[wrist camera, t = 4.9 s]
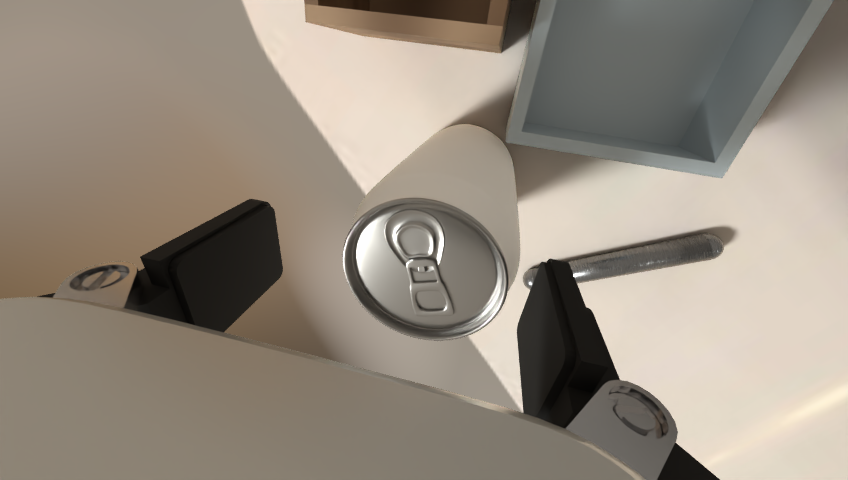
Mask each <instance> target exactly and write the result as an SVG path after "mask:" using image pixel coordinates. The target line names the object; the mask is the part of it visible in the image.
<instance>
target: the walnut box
mask: <svg viewBox="0 0 848 480" xmlns="http://www.w3.org/2000/svg"><path fill="white" fill-rule="evenodd" d="M304 2H305V17H306V22H308V23H312V24H316V25H320V26H325V27H329V28H333V29H337V30H341V31H345V32H349V33H353V34H357V35H361V36H368V37H376V38H384V39H391V40H399V41H407V42H415V43H423V44H431V45H439V46H447V47H455V48H463V49H471V50H479V51H487V52H495V53H501V51H502V46H503V41H504V37H505V32H506V27H507V22H508V17H509V12H510V8H511V3H512V0H304Z"/></svg>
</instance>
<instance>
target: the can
mask: <svg viewBox="0 0 848 480" xmlns="http://www.w3.org/2000/svg"><path fill="white" fill-rule="evenodd" d="M519 260H520V233H519V219H518V206H517V194H516V183H515V173H514V166H513V162H512V158H511V156H510V153H509V151H508V149H507V148H506V146H505V145H504V143H503V142H502V141H501V140H500V139H499V138H498V137H497V136H496V135H494V134H493V133H492V132H490V131H488V130H486V129H484V128H482V127H479V126H475V125H471V124H459V125H454V126H451V127H448V128H445V129H443V130H441V131H439V132H437V133H436V134H434V135H433V136H431V137H430V138H429V139H428V140H426V141H425V142H424V143H423V144H422V145H420V146H419V147H418V148H417V149H416V150H415V151H414V152H412V153H411V154H410V155H409V156H408V157H407V158H406V159H404V160H403V161H402V162H401V163H400V164H399V165H398V166H396V167H395V168H394V169H393V170H392V171H391V172H390V173H389V174H387V175H386V176H385V177H384V178H383V179H382V180H381V181H380V182H379V183H378V184H377V185H376V186H375V187H374V188H373V189H372V190H371V191H370V192H369V193H368V194H367V195H366V197H365V198H364V199H363V201H362V202H361V204H360V206H359V207H358V209H357V211H356V214H355V216H354V219H353V224H352V228H351V229H350V231H349V233H348V235H347V238H346V240H345V244H344V249H343V268H344V273H345V277H346V280H347V283H348V285H349V287H350V289H351V291H352V293H353V294H354V296H355V298H356V299H357V300H358V302H359V303H360V304H361V305H362V307H363V308H364V309H365V310H366V311H367V312H368V313H369V314H370V315H372V316H373V317H374V318H375V319H376V320H378V321H379V322H381V323H382V324H384V325H385V326H387V327H389V328H391V329H393V330H395V331H397V332H399V333H402V334H404V335H407V336H410V337H414V338H418V339H424V340H434V341H443V340H453V339H458V338H462V337H465V336H468V335H471V334H473V333H475V332H477V331H479V330H481V329H482V328H484V327H485V326H486V325H488V324H489V323H490V322H491V321H492V320H493V319H494V318H495V317H496V316H497V314H498V313H499V311H500V310H501V308H502V306H503V304H504V302H505V299H506V296H507V292H508V290H509V289H510V287H511V285H512V284H513V282H514V279H515V277H516V274H517V271H518V267H519Z"/></svg>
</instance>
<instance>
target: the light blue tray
mask: <svg viewBox="0 0 848 480" xmlns="http://www.w3.org/2000/svg"><path fill="white" fill-rule="evenodd" d="M833 1H834V0H537V1H536V5H535V10H534V14H533V18H532V22H531V26H530V30H529V35H528V39H527V43H526V47H525V51H524V56H523V60H522V64H521V68H520V72H519V76H518V81H517V85H516V89H515V93H514V97H513V101H512V106H511V110H510V114H509V118H508V122H507V127H506V143H512V144H518V145H524V146H530V147H536V148H542V149H548V150H554V151H560V152H566V153H572V154H578V155H584V156H590V157H596V158H602V159H608V160H614V161H620V162H626V163H632V164H638V165H644V166H650V167H656V168H662V169H668V170H674V171H680V172H686V173H692V174H698V175H704V176H710V177H716V178H723V176H724V174H725V173H726V171H727V170H728V168H729V167H730V165H731V163H732V162H733V160H734V159H735V157H736V155H737V154H738V152H739V151H740V149H741V147H742V146H743V144H744V143H745V141H746V139H747V138H748V136H749V135H750V133H751V132H752V130H753V128H754V127H755V125H756V124H757V122H758V120H759V119H760V117H761V116H762V114H763V112H764V111H765V109H766V108H767V106H768V104H769V103H770V101H771V100H772V98H773V97H774V95H775V93H776V92H777V90H778V89H779V87H780V85H781V84H782V82H783V81H784V79H785V77H786V76H787V74H788V73H789V71H790V69H791V68H792V66H793V65H794V63H795V62H796V60H797V58H798V57H799V55H800V54H801V52H802V50H803V49H804V47H805V46H806V44H807V42H808V41H809V39H810V38H811V36H812V34H813V33H814V31H815V30H816V28H817V27H818V25H819V23H820V22H821V20H822V19H823V17H824V15H825V14H826V12H827V11H828V9H829V7H830V6H831V4H832V3H833Z"/></svg>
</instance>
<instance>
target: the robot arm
mask: <svg viewBox="0 0 848 480" xmlns="http://www.w3.org/2000/svg"><path fill="white" fill-rule="evenodd" d="M140 258H141V260H142V262H143V265H144V267H145V268H144V269H143V270H141V271H138V269H137V267H136V266H135V265H134V264H133V263H129V262H123V261H115V262H106V263H101V264H97V265H94V266H90V267H87V268H85V269H82V270H80V271H77V272H75V273H74V274H72V275H71V276H69V277H68V278H66V279H65V280H64V281H63V282H62V284H61V285H60V287H59V288H58V290H57V291H56V293H53V294H48V295H43V296H38V297H23V298H5V299H0V480H720V479H718V478H717V477H716V476H715V475H714V474H712V473H711V472H710V471H709V470H708V469H706V468H705V467H704V466H703V465H702V464H700V463H699V462H698V461H697V460H696V459H694V458H693V457H692V456H691V455H690V454H689V453H687V452H686V451H685V450H684V449H683V448H681V447H680V446H679V445H678V444H677V443H675V442H676V439H677V433H678V431H677V428H676V424H675V421H674V419H673V418H672V416H671V414H670V413H669V411H668V410H667V409H666V408H665V407H664V405H663V404H662V403H661V402H660V401H659V400H658V399H657V398H655V397H654V396H653V395H652V394H651V393H649V392H648V391H646V390H644V389H643V388H641V387H639V386H638V385H635V384H633V383H630V382H628V381H622V380H620V379H619V377H618V374H617V372H616V369H615V367H614V364H613V362H612V359H611V357H610V354H609V352H608V349H607V347H606V344H605V342H604V339H603V337H602V334H601V332H600V329H599V327H598V324H597V322H596V319H595V317H594V314H593V312H592V311H591V310H590V309H589V308H586V306H585V304H584V301H583V298H582V296H581V293H580V290H579V288H578V285H577V283H576V280H575V277H574V275H573V272H572V269H571V267H570V264H569V263H568V262H564V261H559V260H554V259H549V260H548V261H547V263H546V262H541V264H540V266H539V269H538V271H537V274H536V277H535V279H534V282H533V285H532V287H531V290H530V293H529V296H528V298H527V301H526V304H525V306H524V309H523V312H522V314H521V317H520V320H519V323H518V327H517V339H518V351H519V363H520V375H521V387H522V399H523V411H524V413H521V412H518V411H515V410H512V409H509V408H505V407H502V406H499V405H495V404H491V403H488V402H484V401H481V400H477V399H474V398H470V397H467V396H463V395H460V394H456V393H453V392H449V391H445V390H442V389H438V388H434V387H430V386H427V385H423V384H419V383H415V382H412V381H408V380H404V379H400V378H396V377H393V376H389V375H385V374H381V373H378V372H374V371H370V370H366V369H362V368H359V367H355V366H351V365H347V364H344V363H340V362H335V361H331V360H328V359H324V358H321V357H316V356H313V355H309V354H305V353H301V352H297V351H294V350H290V349H286V348H282V347H278V346H274V345H270V344H266V343H263V342H259V341H255V340H251V339H247V338H243V337H239V336H235V335H231V334H227V333H223V332H224V331H225V330H226V329H227V328H228V327H229V326H231V325H232V324H233V323H234V322H235V321H236V320H237V319H238V318H239V317H240V316H241V315H242V314H243V313H244V312H245V311H246V310H247V309H248V308H249V307H250V306H251V305H252V304H253V303H254V302H255V301H256V300H257V299H258V298H260V297H261V295H263V294H264V293H265V292H266V291H267V290H268V289H269V288H270V287H271V286H272V285H273V284H274V283H275V282H276V281H277V280H278V279H279V278H280V277H281V274H282V271H283V266H282V260H281V253H280V246H279V239H278V232H277V225H276V218H275V211H274V209H273V208H272V207H271V206H270V204H269V203H268V202H264V201H260V200H254V199H249V200H247V201H245V202H243V203H241V204H240V205H237V206H236V207H234V208H232V209H230V210H228V211H226V212H224V213H222V214H220V215H219V216H217V217H215V218H213V219H211V220H209V221H207V222H205V223H203V224H201V225H200V226H198V227H196V228H194V229H192V230H190V231H188V232H186V233H184V234H183V235H181V236H179V237H177V238H175V239H173V240H171V241H169V242H168V243H165V244H164V245H162V246H160V247H158V248H156V249H154V250H152V251H151V252H148V253H147V254H145V255H143V256H141V257H140Z"/></svg>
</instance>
